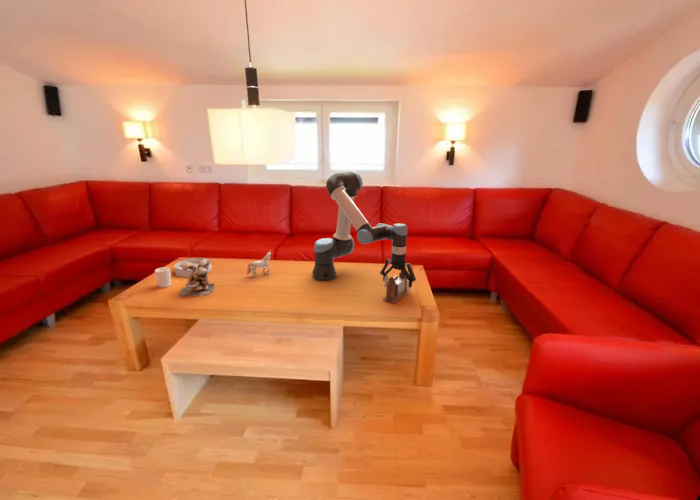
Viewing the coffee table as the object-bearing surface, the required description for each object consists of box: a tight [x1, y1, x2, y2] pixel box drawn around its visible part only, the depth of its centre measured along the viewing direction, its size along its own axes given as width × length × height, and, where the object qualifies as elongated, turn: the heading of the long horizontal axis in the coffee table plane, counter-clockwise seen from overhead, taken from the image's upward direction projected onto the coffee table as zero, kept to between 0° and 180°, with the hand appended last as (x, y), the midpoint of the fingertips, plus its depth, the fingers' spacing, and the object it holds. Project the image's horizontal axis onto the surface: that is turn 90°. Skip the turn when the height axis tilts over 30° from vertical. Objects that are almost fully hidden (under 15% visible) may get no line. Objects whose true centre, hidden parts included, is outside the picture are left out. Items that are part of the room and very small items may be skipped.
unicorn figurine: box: [246, 249, 273, 278], centre depth 225 cm, size 7×20×13 cm, turn 138°
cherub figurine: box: [178, 258, 215, 298], centre depth 202 cm, size 18×18×18 cm
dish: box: [174, 257, 213, 278], centre depth 232 cm, size 22×22×5 cm
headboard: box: [382, 270, 408, 304], centre depth 197 cm, size 7×19×14 cm, turn 148°
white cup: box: [154, 266, 172, 289], centre depth 209 cm, size 8×8×10 cm
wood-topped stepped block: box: [393, 274, 405, 298], centre depth 197 cm, size 5×9×9 cm, turn 148°
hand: (396, 289), depth 198 cm, fingers open, 13 cm apart
